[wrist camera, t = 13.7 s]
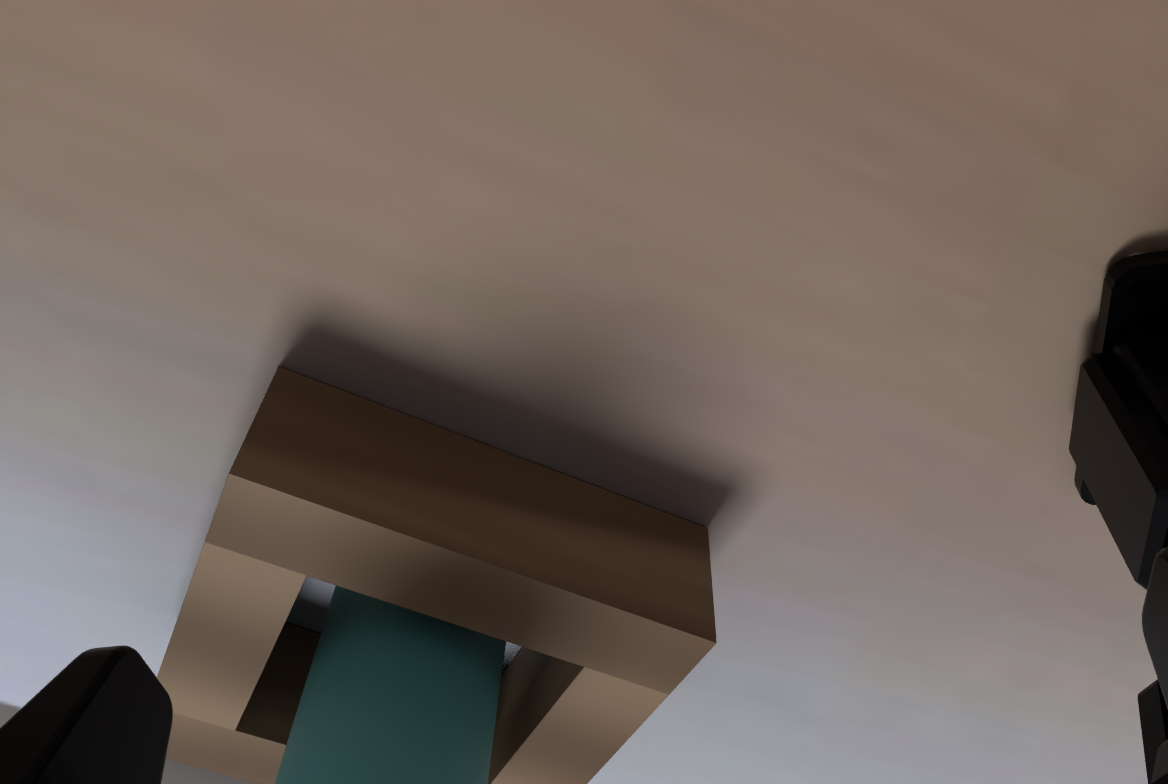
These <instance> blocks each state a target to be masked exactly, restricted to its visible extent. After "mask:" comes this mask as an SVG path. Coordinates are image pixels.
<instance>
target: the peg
mask: <svg viewBox="0 0 1168 784" xmlns="http://www.w3.org/2000/svg"><path fill="white" fill-rule="evenodd" d="M505 645H506V641H504V640H501V639H498V638H495V637H492V636H489V635H486V634H483V633H480V632H477V631H474V630H471V629H468V628H465V627H461V626H458V625H455V624H452V623H449V622H446V621H443V620H440V619H437V618H434V617H431V616H428V615H425V614H422V613H419V612H416V611H413V610H410V609H407V608H404V607H401V606H398V605H395V604H392V603H389V602H385V601H382V600H379V599H376V598H373V597H370V596H367V595H364V594H361V593H358V592H355V591H352V590H349V589H346V588H343V587H340V586H337V585H336V586H335V590H334V593H333V596H332V599H331V603H330V606H329V609H328V612H327V616H326V619H325V622H324V625H323V628H322V632H321V635H320V638H319V641H318V645H317V648H316V651H315V654H314V657H313V661H312V664H311V667H310V670H309V674H308V677H307V680H306V683H305V686H304V690H303V693H302V696H301V699H300V703H299V706H298V709H297V712H296V716H295V719H294V722H293V725H292V728H291V732H290V735H289V738H288V741H287V745H286V748H285V751H284V754H283V757H282V761H281V764H280V767H279V770H278V774H277V777H276V780H275V783H274V784H488V776H489V769H490V761H491V753H492V746H493V738H494V730H495V722H496V715H497V707H498V699H499V691H500V684H501V676H502V668H503V660H504V653H505Z"/></svg>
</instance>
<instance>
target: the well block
mask: <svg viewBox="0 0 1168 784" xmlns="http://www.w3.org/2000/svg"><path fill="white" fill-rule="evenodd" d="M306 576H310V577H313V578H316V579H319V580H322V581H325V582H328V583H331V584H334V585H337V586H340V587H343V588H346V589H349V590H352V591H355V592H358V593H361V594H364V595H367V596H370V597H373V598H376V599H379V600H382V601H385V602H389V603H392V604H395V605H398V606H401V607H404V608H407V609H410V610H413V611H416V612H419V613H422V614H425V615H428V616H431V617H434V618H437V619H440V620H443V621H446V622H449V623H452V624H455V625H458V626H461V627H465V628H468V629H471V630H474V631H477V632H480V633H483V634H486V635H489V636H492V637H495V638H498V639H501V640H504V641H507V642H510V643H513V644H516V645H519V646H522V648H521V650H520V651H519V653H518V654H517V655H516V657H515V658H514V660H513V661H512V662H511V664H510V665H509V666H508V668H507V669H506V671H505V672H504V673H503V675H502V676H501V684H500V691H499V699H498V707H497V715H496V722H495V730H494V738H493V746H492V753H491V761H490V769H489V776H488V784H587V783H588V782H589V781H590V780H591V779H592V778H593V777H594V776H595V775H596V774H597V772H598V771H599V770H600V769H601V768H602V767H603V766H604V765H605V764H606V763H607V762H608V761H609V759H610V758H611V757H612V756H613V755H614V754H615V753H616V752H617V751H618V750H619V749H620V747H621V746H622V745H623V744H624V743H625V742H626V741H627V740H628V739H629V738H630V737H631V735H632V734H633V733H634V732H635V731H636V730H637V729H638V728H639V727H640V726H641V725H642V724H643V722H644V721H645V720H646V719H647V718H648V717H649V716H650V715H651V714H652V713H653V712H654V710H655V709H656V708H657V707H658V706H659V705H660V704H661V703H662V702H663V701H664V700H665V698H666V697H667V696H668V695H669V694H670V693H671V692H672V691H673V690H674V689H675V688H676V687H677V685H678V684H679V683H680V682H681V681H682V680H683V679H684V678H685V677H686V676H687V675H688V673H689V672H690V671H691V670H692V669H693V668H694V667H695V666H696V665H697V664H698V663H699V661H700V660H701V659H702V658H703V657H704V656H705V655H706V654H707V653H708V652H709V651H710V650H711V648H712V647H713V646H714V645H715V644H716V630H715V617H714V604H713V591H712V578H711V565H710V551H709V538H708V528H705V527H702V526H700V525H697V524H694V523H692V522H689V521H686V520H684V519H681V518H678V517H676V516H673V515H671V514H668V513H665V512H663V511H660V510H657V509H655V508H652V507H649V506H647V505H644V504H641V503H639V502H636V501H633V500H631V499H628V498H626V497H623V496H620V495H618V494H615V493H612V492H610V491H607V490H604V489H602V488H599V487H596V486H594V485H591V484H588V483H586V482H583V481H581V480H578V479H575V478H573V477H570V476H567V475H565V474H562V473H559V472H557V471H554V470H551V469H549V468H546V467H544V466H541V465H538V464H536V463H533V462H530V461H528V460H525V459H522V458H520V457H517V456H514V455H512V454H509V453H506V452H504V451H501V450H499V449H496V448H493V447H491V446H488V445H485V444H483V443H480V442H477V441H475V440H472V439H469V438H467V437H464V436H461V435H459V434H456V433H454V432H451V431H448V430H446V429H443V428H440V427H438V426H435V425H432V424H430V423H427V422H424V421H422V420H419V419H416V418H414V417H411V416H409V415H406V414H403V413H401V412H398V411H395V410H393V409H390V408H387V407H385V406H382V405H379V404H377V403H374V402H372V401H369V400H366V399H364V398H361V397H358V396H356V395H353V394H350V393H348V392H345V391H342V390H340V389H337V388H334V387H332V386H329V385H327V384H324V383H321V382H319V381H316V380H313V379H311V378H308V377H305V376H303V375H300V374H297V373H295V372H292V371H289V370H287V369H284V368H282V367H278V369H277V371H276V373H275V375H274V377H273V380H272V382H271V384H270V386H269V388H268V390H267V393H266V395H265V397H264V399H263V401H262V403H261V405H260V408H259V410H258V412H257V414H256V416H255V418H254V420H253V423H252V425H251V427H250V429H249V431H248V433H247V435H246V438H245V440H244V442H243V444H242V446H241V448H240V450H239V453H238V455H237V457H236V459H235V461H234V463H233V466H232V468H231V470H230V472H229V474H228V477H227V480H226V483H225V486H224V488H223V491H222V494H221V497H220V500H219V503H218V506H217V508H216V511H215V514H214V517H213V520H212V523H211V525H210V528H209V531H208V534H207V537H206V540H205V542H204V545H203V548H202V551H201V554H200V557H199V559H198V562H197V565H196V568H195V571H194V574H193V577H192V579H191V582H190V585H189V588H188V591H187V594H186V596H185V599H184V602H183V605H182V608H181V611H180V613H179V616H178V619H177V622H176V625H175V628H174V630H173V633H172V636H171V639H170V642H169V645H168V647H167V650H166V653H165V656H164V659H163V662H162V665H161V667H160V670H159V673H158V676H157V679H158V680H159V681H160V683H161V684H162V685H163V687H164V688H165V690H166V691H167V692H168V694H169V696H170V699H171V702H172V708H173V721H172V727H171V733H170V738H169V743H168V749H167V754H166V759H169V760H173V761H176V762H180V763H184V764H187V765H191V766H194V767H198V768H202V769H205V770H209V771H213V772H216V773H220V774H224V775H228V776H231V777H235V778H238V779H242V780H246V781H249V782H253V783H257V784H274V783H275V780H276V777H277V774H278V770H279V767H280V764H281V761H282V757H283V754H284V751H285V748H286V745H287V741H288V738H289V735H290V732H291V728H292V725H293V722H294V719H295V716H296V712H297V709H298V706H299V703H300V699H301V696H302V693H303V690H304V686H305V683H306V680H307V677H308V674H309V670H310V667H311V664H312V661H313V657H314V654H315V651H316V648H317V645H318V641H319V638H320V635H321V634H319V633H315V632H312V631H309V630H306V629H303V628H300V627H296V626H293V625H290V624H287V623H285V621H286V619H287V617H288V615H289V613H290V610H291V608H292V606H293V604H294V602H295V600H296V597H297V595H298V593H299V591H300V589H301V587H302V584H303V582H304V580H305V578H306Z"/></svg>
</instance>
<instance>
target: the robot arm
mask: <svg viewBox="0 0 1168 784" xmlns="http://www.w3.org/2000/svg"><path fill="white" fill-rule="evenodd" d="M1140 276H1143V277H1144V278H1143V280H1142V281H1141V282H1140V283H1138V284H1137V285H1136V286H1133V287H1130V288H1127V287H1126V286H1127V284H1128V283H1129V282H1130V281H1131V280H1132V279H1134V278H1137V277H1140ZM1069 451H1070V454H1071V456H1072V458H1073V459H1074V461H1075V463H1076V465H1077V466H1076V472H1075V479H1074V481H1075V486H1076V488H1077V490H1078V492H1079V494H1080V496H1081V498H1082V499H1083V500H1084V501H1085V502H1086V503H1089V504H1091V505H1097V507H1098V509H1099V511H1100V513H1101V515H1102V517H1103V519H1104V521H1105V523H1106V525H1107V527H1108V529H1109V531H1110V533H1111V535H1112V537H1113V539H1114V541H1115V543H1116V544H1117V546H1118V548H1119V550H1120V552H1121V554H1122V556H1123V558H1124V560H1125V562H1126V564H1127V566H1128V568H1129V570H1130V572H1131V574H1132V576H1133V578H1134V580H1135V581H1136V582H1137V583H1138V584H1139V585H1141V586H1142V587H1143V588H1145V589H1146V590H1147V593H1146V597H1145V602H1144V606H1143V611H1142V626H1143V633H1144V638H1145V641H1146V644H1147V647H1148V651H1149V654H1150V657H1151V660H1152V663H1153V666H1154V669H1155V672H1156V675H1157V678H1158V679H1157V680H1156V681H1155V682H1153V683H1152V684H1151V685H1149V686H1148V687H1147V688H1145V689H1144V690H1143V691H1141V692H1140V693H1139V694H1138V705H1139V713H1140V721H1141V729H1142V737H1143V745H1144V753H1145V762H1146V770H1147V778H1148V784H1168V251H1161V252H1153V253H1146V254H1138V255H1133V256H1129V257H1126V258H1123V259H1122V260H1120V261H1118V262H1117V263H1115V264H1114V265H1113V266H1112V267H1111V268H1110V269H1109V271H1108V272H1107V274H1106V277H1105V279H1104V285H1103V292H1102V298H1101V305H1100V312H1099V318H1098V325H1097V332H1096V339H1095V345H1094V352H1093V354H1090V355H1088V357H1087V358H1086V359H1085V361H1084V362H1083V363H1082V364H1081V366H1080V373H1079V380H1078V387H1077V394H1076V401H1075V409H1074V416H1073V423H1072V430H1071V437H1070V444H1069ZM172 721H173V708H172V702H171V699H170V696H169V694H168V692H167V691H166V690H165V688H164V687H163V685H162V684H161V683H160V681H159V680H158V679H157V677H156V676H155V675H154V673H153V672H152V671H151V669H150V668H149V667H148V665H147V664H146V663H145V661H144V660H143V658H142V657H141V656H140V654H139V653H138V652H137V651H136V650H135V649H133V648H131V647H129V646H112V647H102V648H94V649H90V650H87V651H85V652H83V653H82V654H80V655H79V656H78V657H76V658H75V659H74V660H73V661H72V662H71V663H70V664H69V665H68V666H67V667H66V668H64V669H63V670H62V671H61V672H60V673H59V674H58V675H57V676H56V677H55V678H54V679H53V680H52V681H50V682H49V683H48V684H47V685H46V686H45V687H44V688H43V689H42V690H41V691H40V692H39V693H38V694H36V695H35V696H34V697H33V698H32V699H31V700H30V701H29V702H28V703H27V704H26V705H25V706H24V707H22V708H21V709H20V710H19V711H18V712H17V713H16V714H15V715H14V716H13V717H12V718H11V719H10V720H8V721H7V722H6V723H5V724H4V725H3V726H2V727H1V728H0V784H161V780H162V775H163V770H164V764H165V759H166V754H167V749H168V743H169V738H170V733H171V727H172Z"/></svg>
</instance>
